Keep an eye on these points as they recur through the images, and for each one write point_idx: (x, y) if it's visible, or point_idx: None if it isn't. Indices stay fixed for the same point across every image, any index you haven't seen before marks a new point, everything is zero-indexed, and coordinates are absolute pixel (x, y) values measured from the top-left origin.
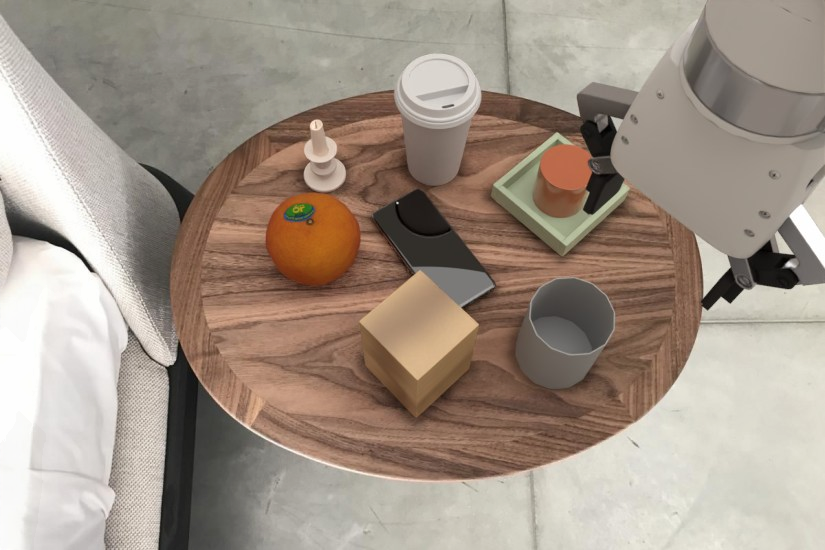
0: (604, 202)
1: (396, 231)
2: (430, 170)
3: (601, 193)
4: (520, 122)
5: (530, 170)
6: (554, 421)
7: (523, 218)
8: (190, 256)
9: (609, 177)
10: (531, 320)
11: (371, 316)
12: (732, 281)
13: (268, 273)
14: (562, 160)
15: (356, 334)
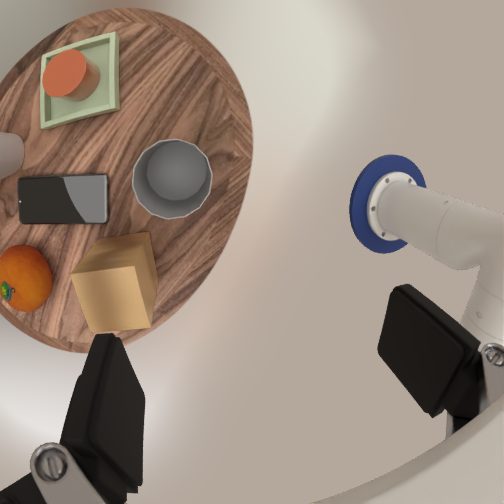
0: (133, 381)
1: (36, 215)
2: (9, 171)
3: (141, 458)
4: (22, 72)
5: None
6: (217, 206)
7: (75, 119)
8: (17, 323)
9: (128, 479)
10: (146, 171)
11: (91, 324)
12: (443, 409)
13: None
14: (56, 73)
15: None
